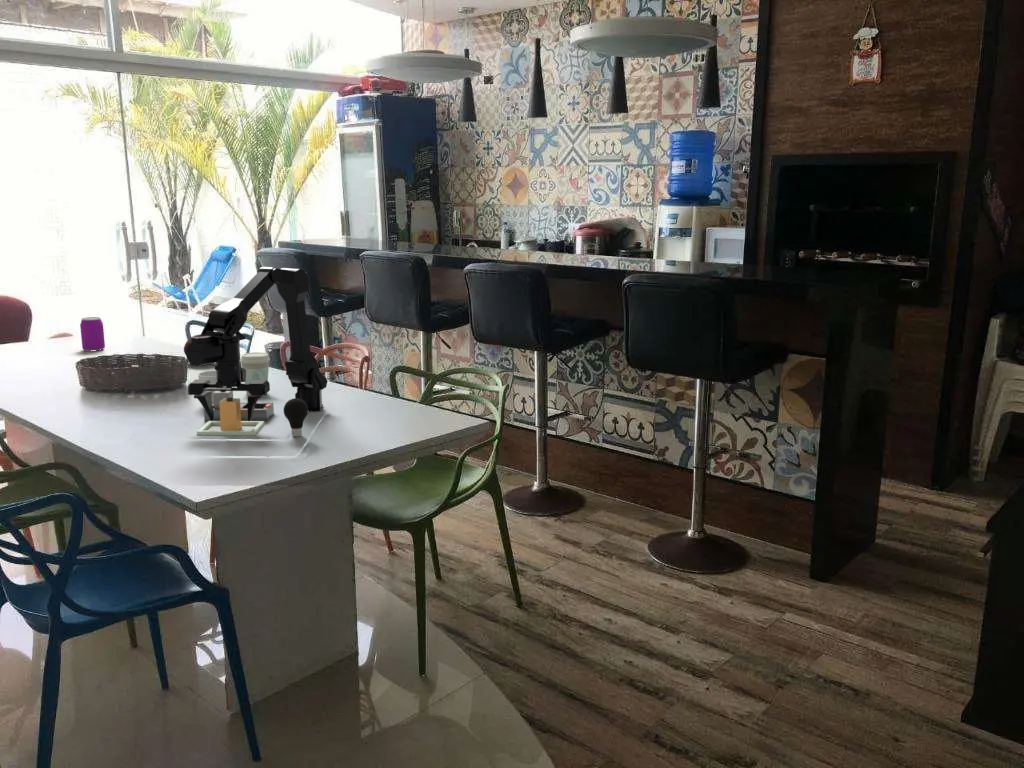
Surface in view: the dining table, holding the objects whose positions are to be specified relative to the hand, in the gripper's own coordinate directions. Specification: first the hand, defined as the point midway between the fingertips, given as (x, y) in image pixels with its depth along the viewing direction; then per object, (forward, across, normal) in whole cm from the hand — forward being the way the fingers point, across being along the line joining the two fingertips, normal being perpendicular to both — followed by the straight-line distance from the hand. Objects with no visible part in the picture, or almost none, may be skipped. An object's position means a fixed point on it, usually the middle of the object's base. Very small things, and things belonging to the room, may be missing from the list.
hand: (231, 420), depth 213 cm
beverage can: (+3, +81, -113) cm, 139 cm away
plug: (+3, 0, 0) cm, 3 cm away
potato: (+3, +34, -89) cm, 95 cm away
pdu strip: (+3, +1, -12) cm, 12 cm away
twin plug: (+2, +5, -12) cm, 13 cm away
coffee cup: (+3, +4, -43) cm, 43 cm away
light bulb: (+3, -17, +4) cm, 18 cm away
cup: (+3, +11, -25) cm, 28 cm away
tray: (+3, 0, 0) cm, 3 cm away
